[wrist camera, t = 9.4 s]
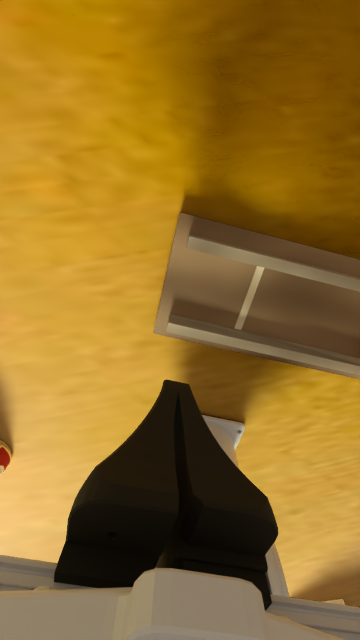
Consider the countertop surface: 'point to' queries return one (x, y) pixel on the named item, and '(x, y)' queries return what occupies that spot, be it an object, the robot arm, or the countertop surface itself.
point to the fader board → (262, 297)
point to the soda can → (4, 456)
